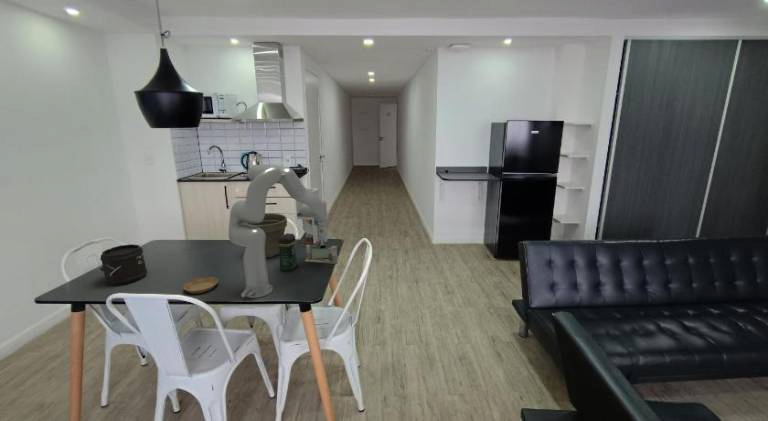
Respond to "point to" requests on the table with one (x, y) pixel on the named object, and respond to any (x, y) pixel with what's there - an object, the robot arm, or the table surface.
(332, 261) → the gate frame
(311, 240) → the display case
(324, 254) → the gate
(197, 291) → the plant saucer
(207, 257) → the table surface
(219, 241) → the table surface
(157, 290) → the table surface
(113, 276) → the black round bag
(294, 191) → the robot arm
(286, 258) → the coffee jar
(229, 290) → the table surface
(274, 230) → the plant pot
